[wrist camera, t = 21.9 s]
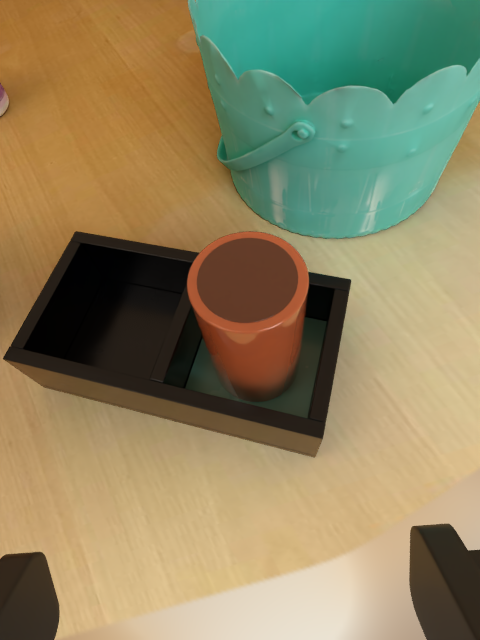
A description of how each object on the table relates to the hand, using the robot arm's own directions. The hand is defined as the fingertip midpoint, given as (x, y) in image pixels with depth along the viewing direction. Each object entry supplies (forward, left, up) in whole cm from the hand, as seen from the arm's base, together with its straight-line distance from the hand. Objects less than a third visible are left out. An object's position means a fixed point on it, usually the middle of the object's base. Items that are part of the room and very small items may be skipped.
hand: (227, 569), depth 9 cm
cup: (+10, +3, -13) cm, 17 cm away
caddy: (+10, +7, -14) cm, 19 cm away
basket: (+29, +1, -14) cm, 32 cm away
